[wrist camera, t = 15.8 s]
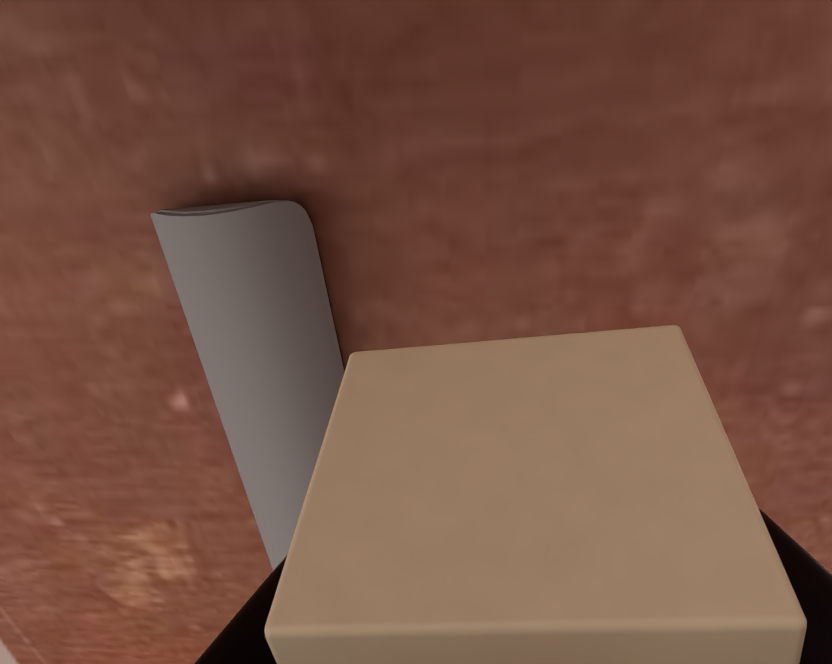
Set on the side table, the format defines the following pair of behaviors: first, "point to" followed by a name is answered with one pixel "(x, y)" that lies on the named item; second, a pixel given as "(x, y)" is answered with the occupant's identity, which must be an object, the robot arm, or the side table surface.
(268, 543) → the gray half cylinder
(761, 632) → the block
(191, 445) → the side table surface
